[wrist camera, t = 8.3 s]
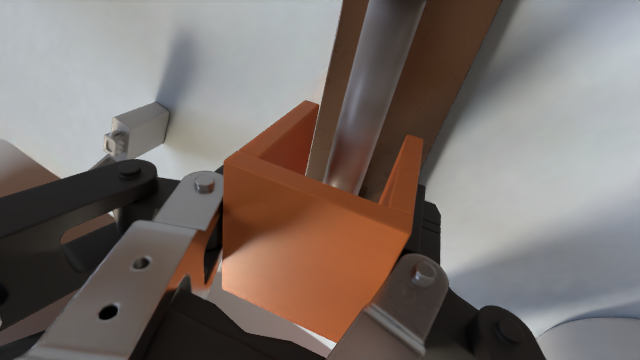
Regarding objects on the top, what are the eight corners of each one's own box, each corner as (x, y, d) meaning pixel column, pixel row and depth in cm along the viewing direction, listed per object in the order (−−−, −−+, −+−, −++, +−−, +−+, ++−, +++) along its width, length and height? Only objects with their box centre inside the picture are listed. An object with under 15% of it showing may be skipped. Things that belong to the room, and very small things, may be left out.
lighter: (154, 100, 27) (64, 133, 21) (169, 111, 27) (85, 147, 21) (144, 155, 31) (68, 196, 25) (158, 164, 31) (85, 208, 25)
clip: (286, 202, 14) (221, 289, 10) (305, 98, 11) (222, 160, 7) (378, 239, 13) (349, 350, 9) (424, 139, 10) (411, 233, 6)
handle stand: (309, 174, 25) (226, 287, 16) (361, -61, 16) (238, -148, 6) (399, 208, 24) (371, 354, 14) (511, -27, 15) (645, -71, 5)
